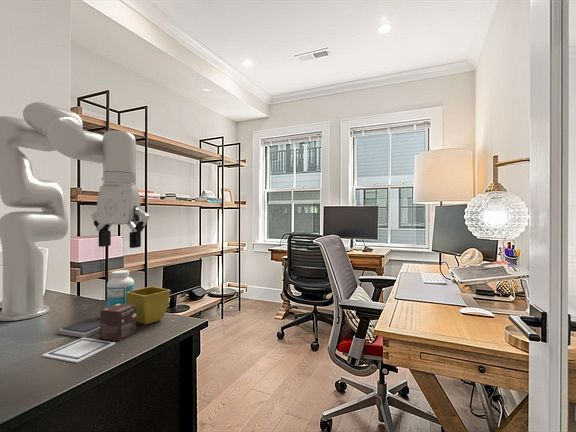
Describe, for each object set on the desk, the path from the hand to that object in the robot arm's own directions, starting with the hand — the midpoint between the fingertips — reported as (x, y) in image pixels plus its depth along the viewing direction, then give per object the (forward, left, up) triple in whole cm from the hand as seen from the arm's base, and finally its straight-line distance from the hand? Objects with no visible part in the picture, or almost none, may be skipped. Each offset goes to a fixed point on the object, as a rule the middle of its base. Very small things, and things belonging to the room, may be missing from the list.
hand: (119, 246), depth 80 cm
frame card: (-2, -9, -23) cm, 25 cm away
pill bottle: (-12, +13, -23) cm, 29 cm away
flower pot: (0, +11, -23) cm, 26 cm away
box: (0, 0, -23) cm, 23 cm away
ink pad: (-11, +1, -23) cm, 26 cm away
